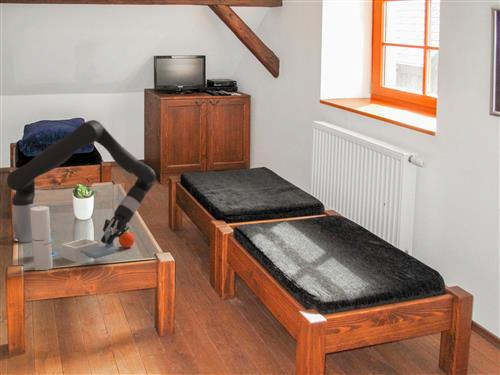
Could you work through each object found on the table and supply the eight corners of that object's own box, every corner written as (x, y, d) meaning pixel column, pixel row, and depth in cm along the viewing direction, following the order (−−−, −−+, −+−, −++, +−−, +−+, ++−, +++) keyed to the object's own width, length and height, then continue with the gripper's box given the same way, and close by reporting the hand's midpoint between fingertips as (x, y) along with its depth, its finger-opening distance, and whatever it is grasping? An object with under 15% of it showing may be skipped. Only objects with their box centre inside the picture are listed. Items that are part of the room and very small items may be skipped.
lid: (94, 260, 303) (93, 240, 301) (80, 255, 309) (79, 235, 307) (119, 253, 312) (118, 233, 310) (105, 248, 318) (104, 229, 316)
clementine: (124, 243, 338) (123, 228, 337) (138, 245, 336) (137, 229, 335) (116, 248, 331) (115, 233, 329) (130, 250, 329) (129, 234, 327)
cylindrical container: (34, 266, 307) (30, 206, 302) (52, 264, 309) (48, 205, 304) (34, 271, 301) (30, 211, 295) (53, 269, 303) (49, 209, 297)
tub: (75, 262, 312) (75, 248, 311) (63, 257, 318) (62, 244, 317) (99, 255, 321) (98, 242, 320) (86, 251, 327) (85, 238, 326)
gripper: (111, 201, 320) (89, 235, 314) (132, 206, 311) (110, 241, 305) (121, 211, 325) (100, 244, 319) (142, 216, 316) (121, 250, 310)
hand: (105, 242), depth 312 cm, fingers closed on lid, 3 cm apart
